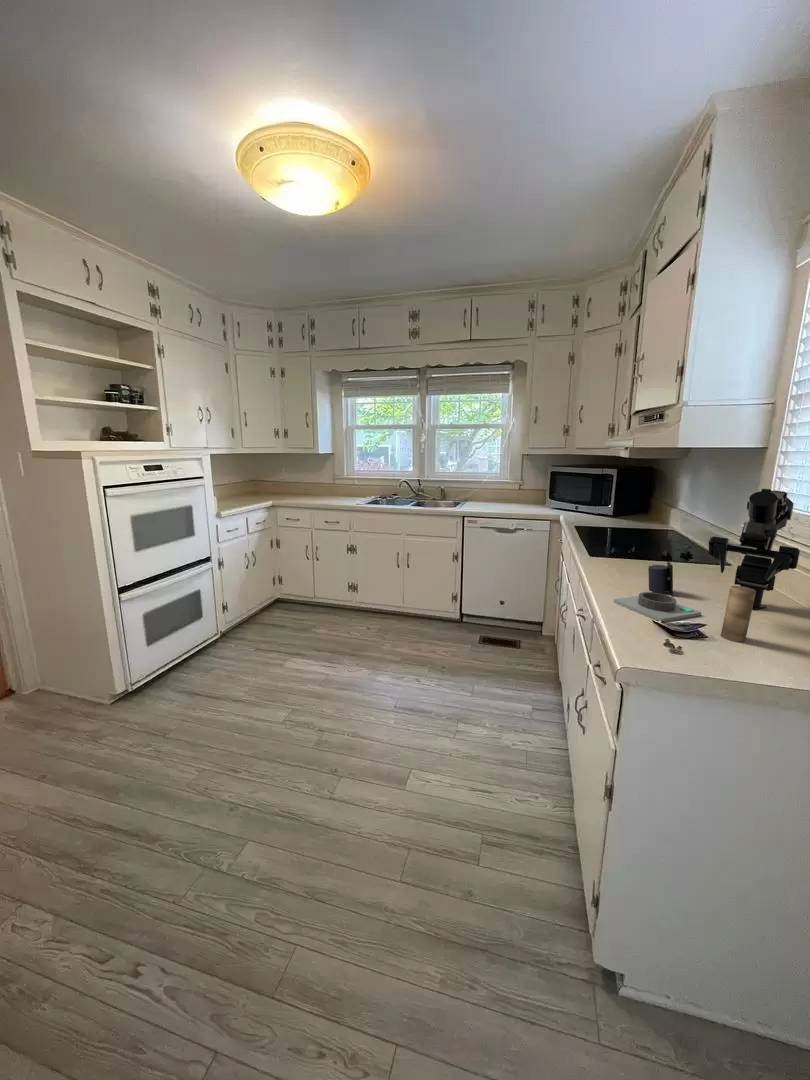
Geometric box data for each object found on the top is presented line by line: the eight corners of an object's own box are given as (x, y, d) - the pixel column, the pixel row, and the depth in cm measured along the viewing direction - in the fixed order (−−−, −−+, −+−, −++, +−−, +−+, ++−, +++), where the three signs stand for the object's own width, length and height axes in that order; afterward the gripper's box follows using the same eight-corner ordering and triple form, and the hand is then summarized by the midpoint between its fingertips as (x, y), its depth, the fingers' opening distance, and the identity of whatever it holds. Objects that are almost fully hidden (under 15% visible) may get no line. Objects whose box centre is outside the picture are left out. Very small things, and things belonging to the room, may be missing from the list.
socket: (651, 596, 137) (652, 586, 136) (700, 615, 122) (702, 603, 122) (613, 602, 131) (614, 591, 130) (660, 622, 117) (662, 610, 116)
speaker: (675, 591, 142) (676, 561, 140) (672, 596, 138) (674, 565, 136) (649, 588, 147) (650, 559, 145) (646, 593, 143) (647, 563, 141)
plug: (728, 632, 111) (738, 584, 108) (749, 640, 107) (760, 591, 104) (716, 635, 109) (725, 586, 107) (736, 643, 105) (747, 593, 102)
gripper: (717, 507, 118) (700, 549, 113) (808, 516, 105) (794, 564, 100) (717, 533, 125) (701, 574, 119) (802, 545, 112) (789, 592, 106)
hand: (743, 575), depth 111 cm, fingers open, 9 cm apart
